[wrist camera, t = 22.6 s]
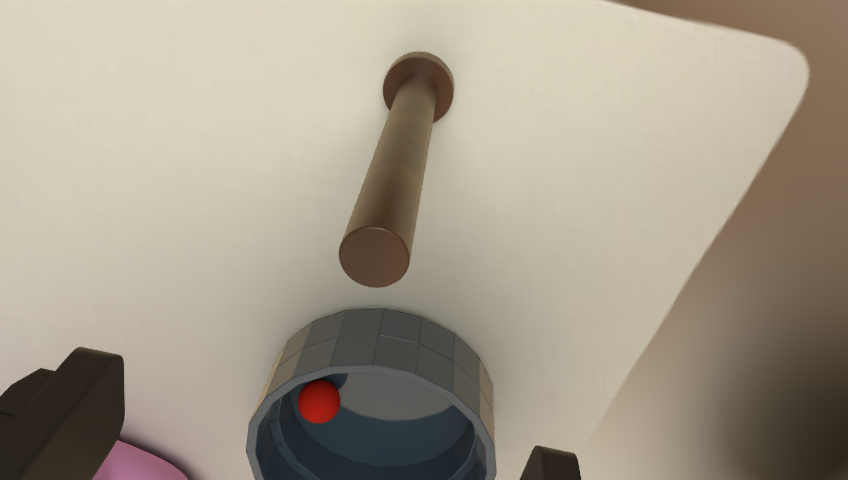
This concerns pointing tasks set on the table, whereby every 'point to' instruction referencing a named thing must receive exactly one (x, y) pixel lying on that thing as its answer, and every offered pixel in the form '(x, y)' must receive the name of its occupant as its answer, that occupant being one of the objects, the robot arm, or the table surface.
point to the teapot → (135, 465)
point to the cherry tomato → (319, 401)
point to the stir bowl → (376, 404)
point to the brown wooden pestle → (396, 172)
